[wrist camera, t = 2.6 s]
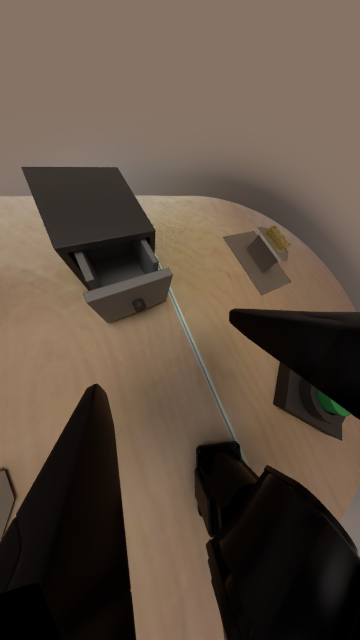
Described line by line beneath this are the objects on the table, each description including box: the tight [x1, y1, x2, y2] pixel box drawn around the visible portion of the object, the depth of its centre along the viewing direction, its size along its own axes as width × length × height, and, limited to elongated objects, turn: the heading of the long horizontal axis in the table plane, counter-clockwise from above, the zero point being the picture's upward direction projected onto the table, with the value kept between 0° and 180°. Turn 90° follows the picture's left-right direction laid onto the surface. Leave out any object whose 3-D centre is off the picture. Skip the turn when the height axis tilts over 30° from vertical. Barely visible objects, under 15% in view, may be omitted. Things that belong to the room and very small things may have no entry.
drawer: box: [74, 238, 173, 323], centre depth 19 cm, size 13×10×7 cm
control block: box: [274, 362, 346, 440], centre depth 22 cm, size 11×9×4 cm
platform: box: [223, 225, 291, 295], centre depth 30 cm, size 12×18×7 cm, turn 26°
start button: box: [317, 390, 351, 416], centre depth 20 cm, size 4×4×2 cm
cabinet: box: [22, 167, 155, 291], centre depth 20 cm, size 13×11×9 cm
